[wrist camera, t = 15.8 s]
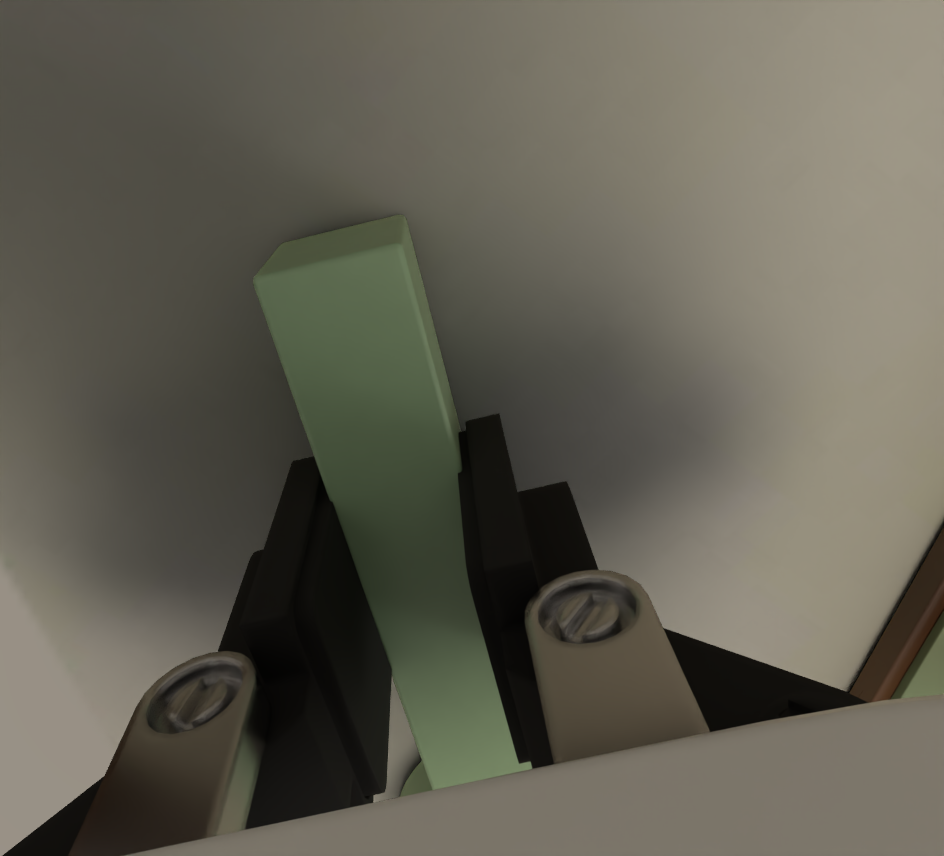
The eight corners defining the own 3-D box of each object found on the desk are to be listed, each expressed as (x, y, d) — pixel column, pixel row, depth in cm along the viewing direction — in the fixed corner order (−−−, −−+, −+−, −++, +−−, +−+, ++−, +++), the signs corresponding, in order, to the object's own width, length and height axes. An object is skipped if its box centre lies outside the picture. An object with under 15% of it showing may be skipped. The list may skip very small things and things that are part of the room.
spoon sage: (180, 266, 11) (125, 311, 9) (504, 187, 11) (524, 215, 9) (428, 900, 17) (430, 1013, 15) (638, 856, 16) (668, 965, 14)
